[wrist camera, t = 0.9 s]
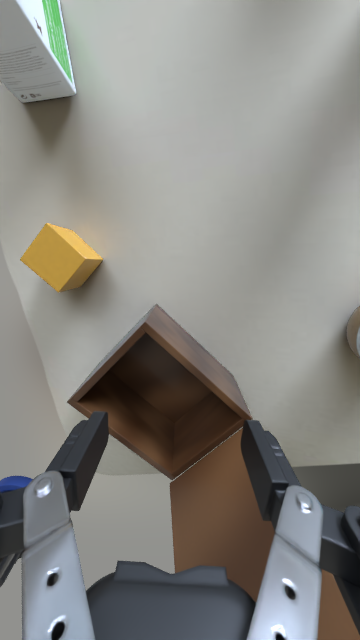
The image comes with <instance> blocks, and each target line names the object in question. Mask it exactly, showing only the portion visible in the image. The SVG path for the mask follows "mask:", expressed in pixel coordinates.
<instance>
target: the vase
mask: <svg viewBox="0 0 360 640" xmlns="http://www.w3.org/2000/svg"><path fill="white" fill-rule="evenodd" d="M346 333H347V340H348V343H349V345H350V348H351V349H352V351H353V352H354V353H355V355H356V356H357V357H358V358H359V359H360V306H359V307H358V308H357V309H356V310H355V311H354V312H353V314H352V315H351V317H350V319H349V321H348V325H347V332H346Z"/></svg>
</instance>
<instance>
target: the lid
mask: <svg viewBox="0 0 360 640" xmlns="http://www.w3.org/2000/svg"><path fill="white" fill-rule="evenodd" d="M242 430H243V428H242V429H241V430H239V431H238V432H237V433H235V434H234V435H233V436H231V437H230V438H229V439H227V440H226V441H225V442H224V443H222V444H221V445H220V446H218V447H217V448H216V449H214V450H213V451H212V452H210V453H209V454H208V455H207V456H205V457H204V458H203V459H201V460H200V461H199V462H197V463H196V464H195V465H193V466H192V467H191V468H190V469H188V470H187V471H186V472H184V473H183V474H182V475H180V476H179V477H178V478H176V479H175V480H174V481H173V482H171V483H170V497H171V513H172V530H173V546H174V563H175V573H178V572H181V571H184V570H187V569H190V568H193V567H196V566H199V565H201V566H219V567H226V572H227V579H230V580H232V581H233V582H235V583H236V584H238V585H239V586H240V587H242V588H243V589H244V590H245V591H246V592H247V593H248V594H249V595H250V596H251V597H252V598H253V600H254V601H255V602H256V600H257V596H258V592H259V589H260V585H261V581H262V577H263V574H264V570H265V566H266V562H267V559H268V555H269V551H270V547H271V544H272V540H273V536H274V532H275V531H274V529H273V526H272V523H271V521H263V520H262V517H261V513H260V510H259V507H258V504H257V501H256V497H255V494H254V491H253V488H252V485H251V481H250V478H249V475H248V472H247V468H246V465H245V462H244V459H243V456H242V452H241V436H242ZM317 640H360V635H359V633H358V631H357V628H356V626H355V624H354V622H353V619H352V617H351V615H350V613H349V610H348V608H347V606H346V604H345V601H344V599H343V597H342V594H341V592H340V590H339V588H338V585H337V583H336V581H335V579H334V576H333V574H331V573H329V572H327V571H325V570H323V569H322V582H321V596H320V610H319V624H318V638H317Z"/></svg>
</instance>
